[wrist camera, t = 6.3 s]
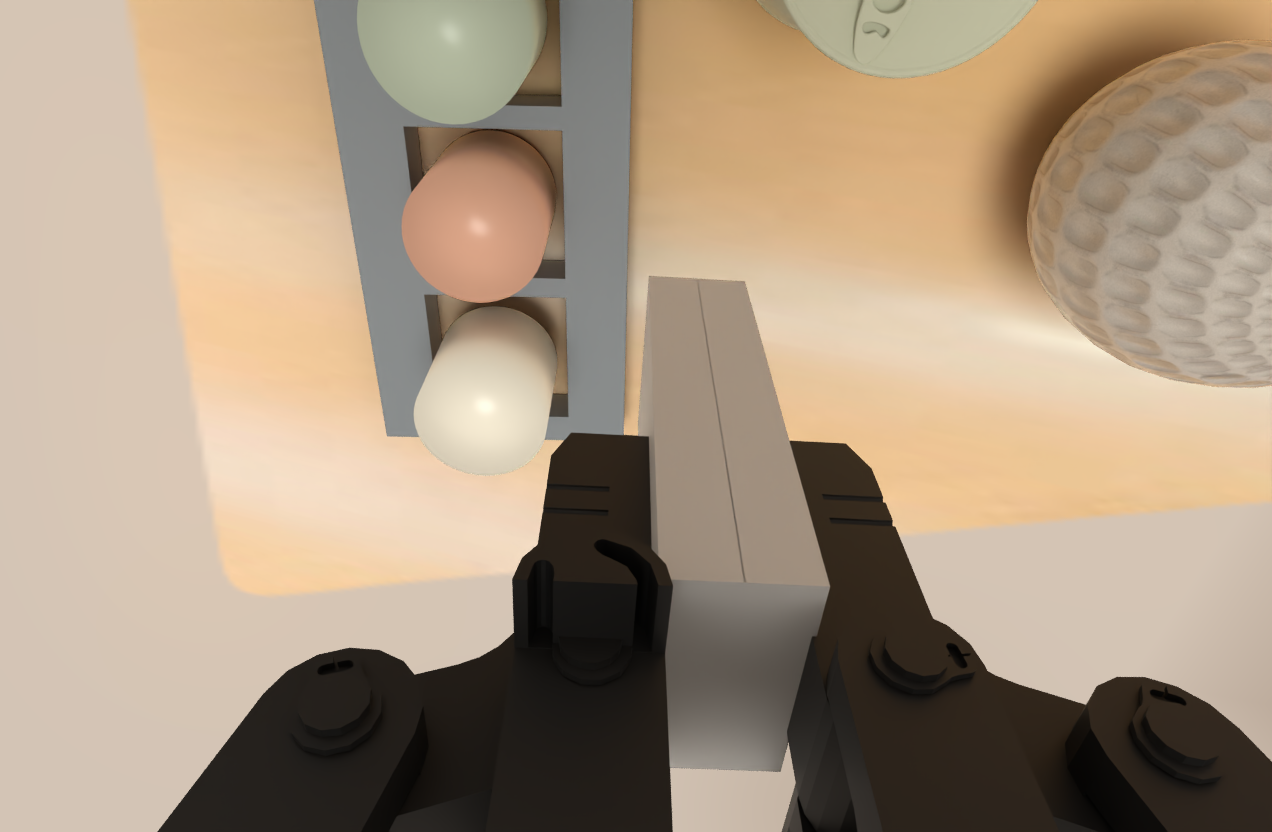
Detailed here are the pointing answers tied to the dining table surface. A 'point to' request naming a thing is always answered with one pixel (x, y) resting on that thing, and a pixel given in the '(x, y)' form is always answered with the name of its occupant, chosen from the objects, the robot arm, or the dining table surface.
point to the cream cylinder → (488, 392)
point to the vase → (1167, 216)
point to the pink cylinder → (481, 217)
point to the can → (900, 31)
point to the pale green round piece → (451, 52)
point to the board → (588, 278)
